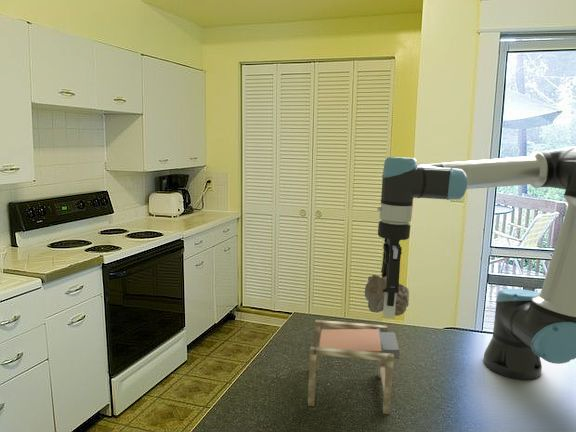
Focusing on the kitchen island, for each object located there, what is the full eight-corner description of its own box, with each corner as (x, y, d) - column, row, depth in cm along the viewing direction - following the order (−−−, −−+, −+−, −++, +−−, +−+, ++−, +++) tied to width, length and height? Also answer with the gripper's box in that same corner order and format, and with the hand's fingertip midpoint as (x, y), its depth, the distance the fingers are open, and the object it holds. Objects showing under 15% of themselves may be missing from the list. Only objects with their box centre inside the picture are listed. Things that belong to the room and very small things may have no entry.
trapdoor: (394, 337, 118) (394, 328, 118) (400, 363, 105) (400, 352, 104) (322, 337, 121) (321, 327, 120) (319, 362, 107) (318, 351, 107)
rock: (402, 330, 105) (423, 294, 106) (361, 306, 105) (383, 269, 106) (390, 323, 115) (409, 289, 115) (352, 300, 114) (372, 266, 115)
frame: (383, 375, 122) (387, 325, 120) (389, 414, 105) (394, 356, 102) (313, 368, 125) (315, 319, 122) (307, 405, 107) (310, 349, 105)
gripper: (375, 213, 118) (369, 294, 122) (382, 228, 97) (374, 326, 100) (404, 215, 117) (396, 296, 121) (417, 231, 96) (408, 329, 100)
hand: (386, 309), depth 111 cm, fingers closed on rock, 9 cm apart
